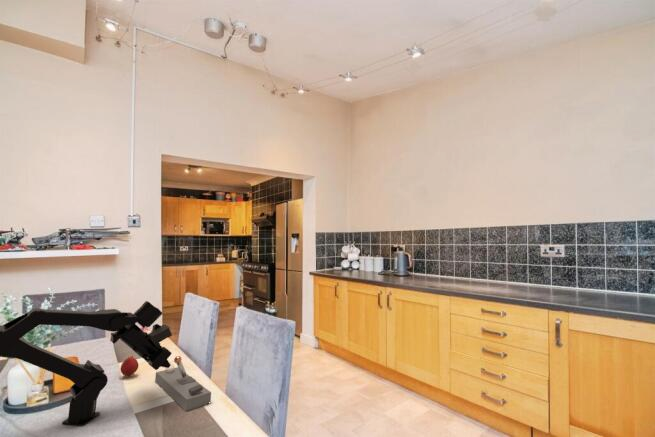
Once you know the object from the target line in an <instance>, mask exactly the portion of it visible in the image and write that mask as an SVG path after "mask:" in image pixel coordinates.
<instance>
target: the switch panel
mask: <svg viewBox="0 0 655 437" xmlns="http://www.w3.org/2000/svg"><path fill="white" fill-rule="evenodd" d="M186 374H187V376H186V377H184V378H183V377H182V375H181V373H180V371H179V368H178V366H177V367H174V372H172V373H166V372H165V369H164V370H163V369H162V370H161V371H160V370H159V371H156V372H155V380H154V382H155V383H156V384H157V385H158V386H159V388H161V389H162V390H163V391H164V392H165V393H166V394H167V395H168V396H169V397H171V399H173V400H174V402H176V404H178V405H179V406H180V407H181V408H182V409H183V410H184V411H185V412H187V411H190V410H194V409H198V408H200V407H199V406H201V407H203V406H202V405H204V404H207V403H209V402H210V403H211V398H212V391H210V390H209V389H207V388H206V387H205V386H204V385H203V384H201V383H199V382H198V381H197V380H196V379H195V378H194V377H192V376H190V375H189V374H188V373H186ZM199 384H200V385H201V386H202V387H203V390H201V391H199V392H197V393H195V394H193V395H192V394H190V393H189V389H190V388H192V387H195V386H197V385H199ZM207 405H208V404H207ZM204 406H205V405H204Z"/></svg>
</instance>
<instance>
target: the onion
mask: <svg viewBox="0 0 655 437" xmlns="http://www.w3.org/2000/svg"><path fill="white" fill-rule="evenodd" d="M138 369H139V362H138V360H137V359H136V358H135V357H134V356H133V354H130V355H129V356H128V358H126V359H125V360H124V361H123V362H122V363H121V365H120V372H121V374H123V376H125V377H127V378H130V377H131V376H132V375H134V374H135V373H136V372H137V370H138Z"/></svg>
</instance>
